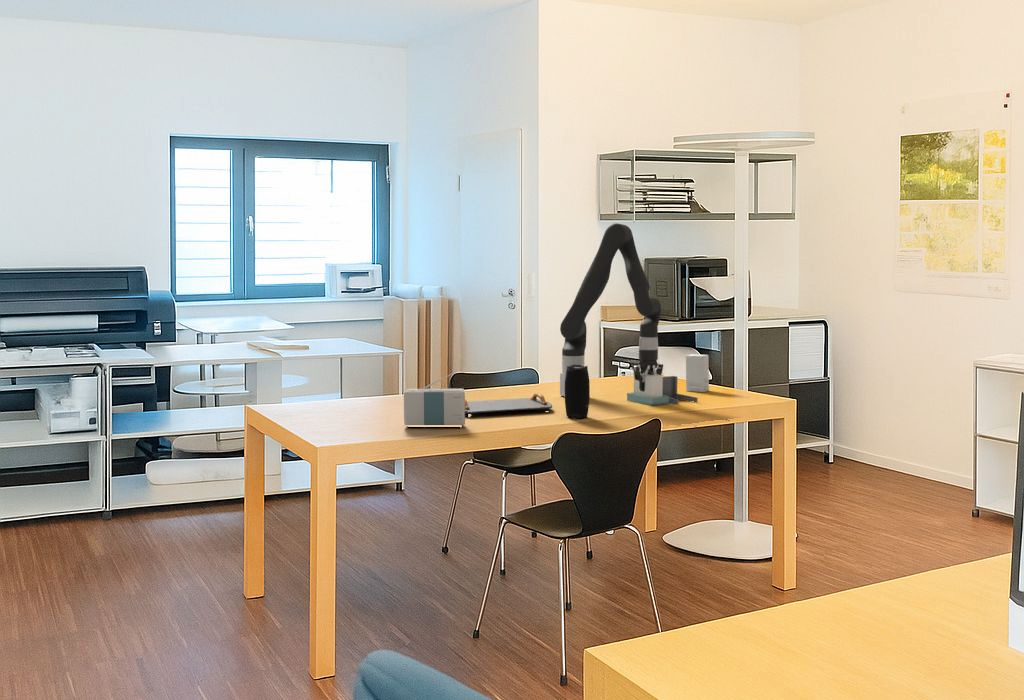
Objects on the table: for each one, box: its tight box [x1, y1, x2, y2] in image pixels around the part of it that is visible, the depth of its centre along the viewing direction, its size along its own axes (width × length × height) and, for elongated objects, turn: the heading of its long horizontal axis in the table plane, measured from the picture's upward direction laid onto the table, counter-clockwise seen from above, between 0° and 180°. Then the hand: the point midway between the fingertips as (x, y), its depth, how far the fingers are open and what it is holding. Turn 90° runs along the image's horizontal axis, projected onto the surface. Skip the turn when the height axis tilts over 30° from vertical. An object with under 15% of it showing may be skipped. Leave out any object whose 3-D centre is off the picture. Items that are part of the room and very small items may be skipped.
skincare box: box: [685, 353, 710, 393], centre depth 442 cm, size 8×7×16 cm
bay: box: [662, 375, 698, 405], centre depth 415 cm, size 11×15×9 cm
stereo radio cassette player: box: [403, 369, 466, 426], centre depth 358 cm, size 21×8×20 cm, turn 90°
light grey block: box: [633, 371, 664, 398], centre depth 412 cm, size 5×12×11 cm, turn 31°
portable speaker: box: [564, 365, 591, 419], centre depth 377 cm, size 8×9×19 cm
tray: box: [626, 391, 670, 407], centre depth 412 cm, size 9×16×3 cm, turn 31°
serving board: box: [465, 392, 553, 415], centre depth 393 cm, size 39×23×6 cm, turn 110°
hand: (647, 390), depth 412 cm, fingers closed on light grey block, 5 cm apart
